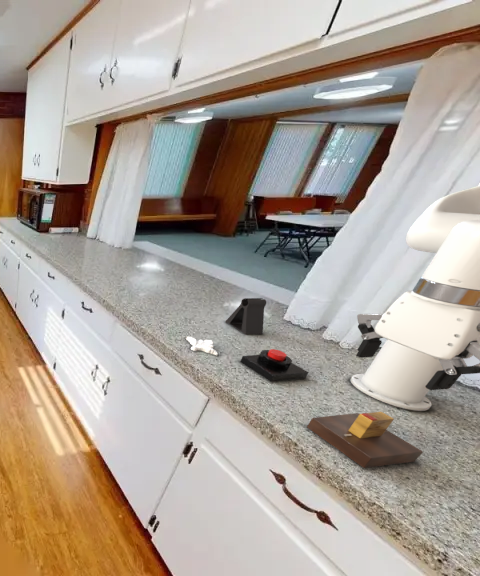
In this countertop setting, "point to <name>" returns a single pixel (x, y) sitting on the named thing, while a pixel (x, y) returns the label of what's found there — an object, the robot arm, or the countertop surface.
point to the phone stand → (248, 316)
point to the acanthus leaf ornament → (202, 345)
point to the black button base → (273, 367)
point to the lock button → (277, 354)
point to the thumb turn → (370, 424)
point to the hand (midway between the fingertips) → (396, 371)
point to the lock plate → (363, 442)
